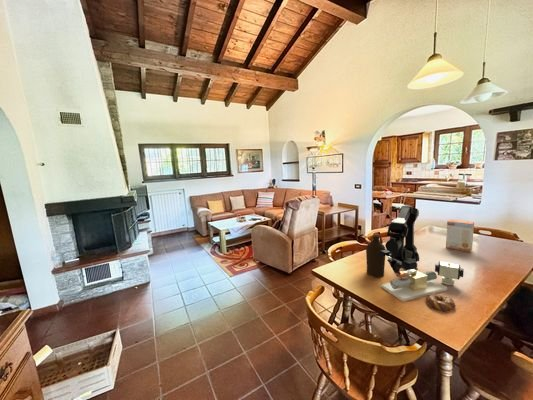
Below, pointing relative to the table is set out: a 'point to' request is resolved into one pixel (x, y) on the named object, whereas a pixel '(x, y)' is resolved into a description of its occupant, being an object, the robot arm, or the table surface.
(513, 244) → the table surface
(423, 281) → the valve body
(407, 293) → the mount board
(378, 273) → the olive oil
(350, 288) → the table surface
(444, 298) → the pretzel
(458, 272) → the pneumatic valve
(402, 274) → the valve lever
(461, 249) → the cracker box
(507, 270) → the table surface
